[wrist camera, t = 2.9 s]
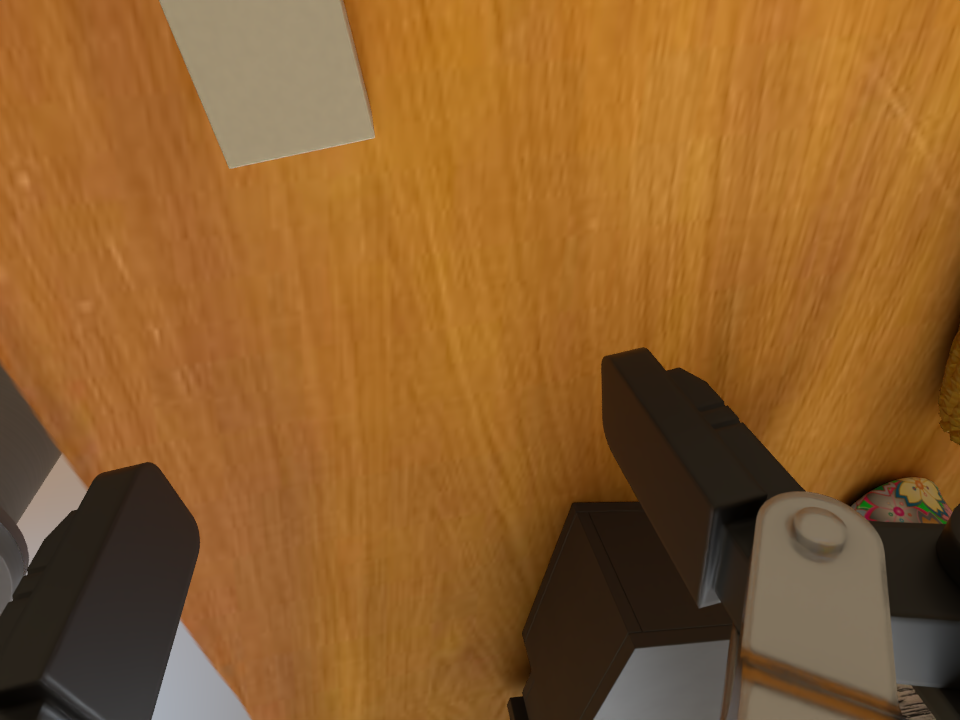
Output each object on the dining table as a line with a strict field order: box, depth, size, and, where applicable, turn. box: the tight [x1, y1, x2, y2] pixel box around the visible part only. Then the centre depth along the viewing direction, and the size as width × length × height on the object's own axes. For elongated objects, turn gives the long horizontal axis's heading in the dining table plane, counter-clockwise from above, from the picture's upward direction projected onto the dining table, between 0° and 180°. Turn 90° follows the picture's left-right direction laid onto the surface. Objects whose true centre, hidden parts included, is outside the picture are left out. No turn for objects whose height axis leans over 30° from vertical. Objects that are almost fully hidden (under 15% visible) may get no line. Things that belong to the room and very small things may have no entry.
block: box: [159, 0, 375, 168], centre depth 17 cm, size 4×4×4 cm
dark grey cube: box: [522, 502, 733, 720], centre depth 36 cm, size 15×13×10 cm
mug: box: [851, 477, 953, 524], centre depth 38 cm, size 11×9×10 cm
